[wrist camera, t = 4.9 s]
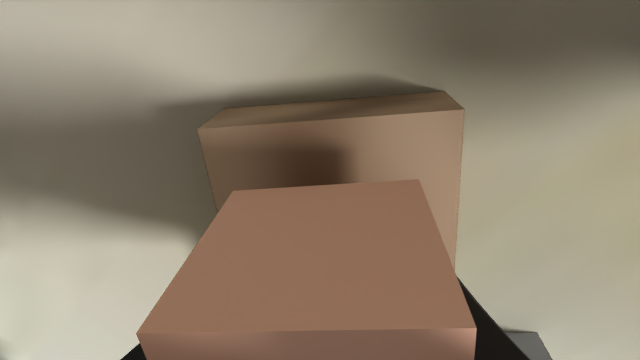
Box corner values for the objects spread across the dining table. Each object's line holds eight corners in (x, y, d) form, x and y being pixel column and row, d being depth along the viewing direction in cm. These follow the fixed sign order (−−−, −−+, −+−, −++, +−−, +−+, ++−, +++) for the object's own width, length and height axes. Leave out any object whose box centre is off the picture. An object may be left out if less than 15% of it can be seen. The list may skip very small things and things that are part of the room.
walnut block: (442, 88, 13) (464, 109, 11) (435, 269, 17) (451, 320, 14) (227, 106, 14) (196, 129, 12) (261, 273, 18) (243, 322, 15)
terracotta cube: (418, 178, 10) (477, 327, 5) (418, 324, 12) (460, 524, 7) (233, 190, 10) (136, 333, 6) (263, 327, 12) (210, 513, 8)
